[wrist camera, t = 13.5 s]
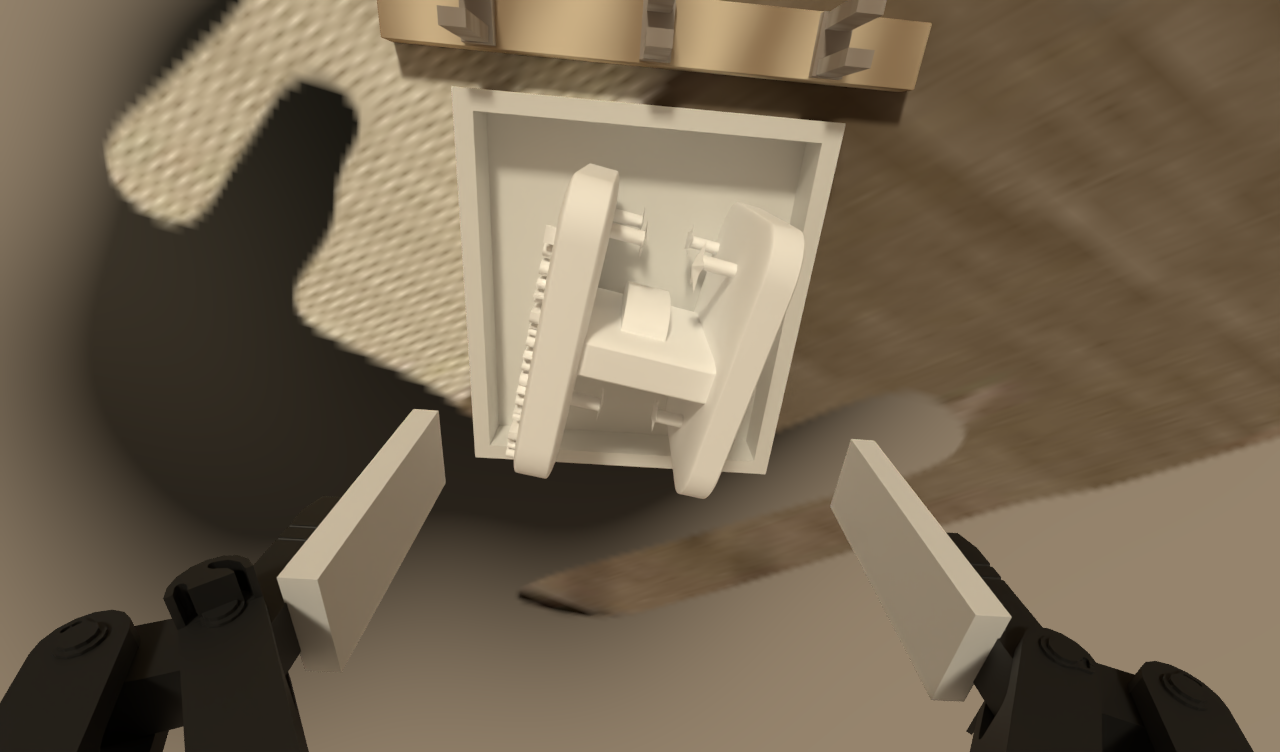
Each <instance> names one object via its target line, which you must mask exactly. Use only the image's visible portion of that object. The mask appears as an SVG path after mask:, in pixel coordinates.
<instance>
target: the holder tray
mask: <svg viewBox="0 0 1280 752" xmlns="http://www.w3.org/2000/svg"><path fill="white" fill-rule="evenodd" d="M451 92H452V108H453V123H454V138H455V153H456V168H457V184H458V199H459V214H460V229H461V244H462V260H463V275H464V290H465V305H466V321H467V336H468V351H469V366H470V381H471V397H472V412H473V427H474V441H475V456H476V457H485V458H501V459H514V458H511V457H506V456H505V454H506V450H507V444H508V432H509V430H510V427H511V425H512V422H513V420H514V419H513V418H512V416H513V411H514V409H515V406H516V405H515V400H516V396H517V393H516V391H517V388H518V383H519V378H520V375H521V372H522V370H521V367H522V363H523V360H524V359H523V358H522V357H523V354H524V351H525V350H526V348H527V346H526V340H527V336H528V329H529V325H530V323H531V322H529V317H530V312H531V310H532V308H533V307H534V305H535V303H536V302H534V297H533V294H534V292H535V291H536V289H537V288H536V282H537V280H538V278H539V277H540V276H541V275H542V274H539V268H540V264H541V261H542V259H543V258H548V259H550V257H546V256H543V255H542V252H543V247H544V244H545V243H543V240H544V234H545V229H546V225H550V226H553V227H557V222H558V218H559V214H560V210H561V206H562V203H563V199H564V196H565V193H566V190H567V188H568V185H569V183H570V180H571V178H572V177H573V175H574V174H575V173H576V172H577V171H579V170H580V169H582V168H583V167H585V166H586V165H588V164H590V163H591V164H595V165H598V166H602V167H605V168H609V169H612V170H616V171H618V172H619V191H618V198H617V204H616V209H619V210H623V211H627V212H630V213H634V214H638V215H641V216H642V215H643V212H644V208H645V214H644V224H643V227H642V229H641V230H642V231H643V230H645V227H646V224H647V221H648V225H647V237H646V243H645V245H644V247H643V250H642V252H641V255H640V257H639V254H640V251H639V248H640V246H639V245H635V244H632V243H628V242H624V241H620V240H617V239H613V238H609V242H608V246H607V250H606V254H605V259H604V263H603V267H602V271H601V276H600V280H599V284H598V288H602V289H606V290H610V291H614V292H618V293H622V294H623V293H624V289H625V286H626V283H627V281H630V282H634V283H638V284H642V285H646V286H650V287H654V288H658V289H661V290H665V291H668V292H669V294H670V300H671V306H673V307H677V308H681V309H685V310H689V311H693V312H694V310H695V307H696V303H697V300H698V297H699V294H700V291H701V288H702V285H703V282H704V279H705V276H706V273H707V271H705V270H702V271H701V272H700V274H699V276H698V279H697V283H696V286H695V290H694V293H693V282H692V283H691V284H690V279H691V267H692V264H693V262H694V260H695V258H696V256H697V254H699V253H700V250H696V249H693V248H689V250H688V254H687V249H686V250H685V245H686V240H687V236H688V232H691V230H692V228H693V226H694V229H693V234H692V235H693V236H696V237H700V238H703V239H707V240H711V241H714V242H717V239H718V236H719V233H720V230H721V227H722V225H723V222H724V220H725V218H726V216H727V214H728V212H729V210H730V209H731V207H732V206H733V205H734V204H735V203H736V202H741V203H744V204H748V205H751V206H755V207H758V208H761V209H763V210H764V211H766V212H768V213H770V214H772V215H774V216H775V217H777V218H779V219H781V220H783V221H784V222H786V223H788V224H790V225H792V226H794V227H795V228H797V229H799V230H800V231H801V232H802V233H803V235H804V240H805V250H804V259H803V264H802V269H801V272H800V276H799V280H798V283H797V286H796V288H795V291H794V294H793V296H792V299H791V301H790V304H789V306H788V309H787V311H786V314H785V316H784V318H783V321H782V323H781V326H780V328H779V331H778V333H777V336H776V338H775V341H774V343H773V346H772V348H771V351H770V353H769V356H768V358H767V361H766V363H765V366H764V368H763V370H762V373H761V375H760V378H759V380H758V383H757V385H756V388H755V390H754V393H753V395H752V398H751V400H750V403H749V405H748V408H747V410H746V413H745V415H744V418H743V420H742V423H741V425H740V427H739V430H738V432H737V435H736V437H735V440H734V442H733V445H732V447H731V450H730V452H729V455H728V457H727V460H726V462H725V465H724V467H723V470H722V472H735V473H736V472H737V473H752V474H766V470H767V466H768V461H769V457H770V452H771V448H772V443H773V439H774V435H775V431H776V426H777V422H778V418H779V413H780V409H781V404H782V400H783V396H784V391H785V387H786V383H787V378H788V374H789V369H790V365H791V361H792V356H793V352H794V348H795V343H796V339H797V335H798V330H799V326H800V321H801V317H802V313H803V308H804V304H805V300H806V295H807V291H808V286H809V282H810V278H811V273H812V269H813V265H814V260H815V256H816V251H817V247H818V243H819V238H820V234H821V230H822V225H823V221H824V217H825V212H826V208H827V203H828V199H829V195H830V190H831V186H832V182H833V177H834V173H835V168H836V164H837V160H838V155H839V151H840V147H841V142H842V138H843V133H844V129H845V125H846V124H845V123H835V122H824V121H814V120H803V119H792V118H782V117H771V116H761V115H750V114H740V113H729V112H719V111H708V110H698V109H687V108H677V107H666V106H656V105H645V104H635V103H624V102H614V101H603V100H592V99H582V98H571V97H561V96H550V95H540V94H529V93H519V92H508V91H498V90H487V89H477V88H466V87H456V86H451ZM613 223H616V224H620V225H623V226H627V227H631V228H634V229H639V228H637V227H633V226H630V225H626V224H622V223H618V222H615V221H613ZM704 255H706V256H710V257H712V254H711V253H708V252H704ZM543 276H546V275H543ZM602 387H603V388H604V397H603V404H602V407H601V410H600V412H599V415H598V417H597V413H598V411H595V410H591V409H586V408H582V407H577V406H573V405H570V408H569V412H568V416H567V420H566V425H565V429H564V433H563V437H562V441H561V445H560V449H559V452H558V455H557V458H556V461H555V462H568V463H584V464H602V465H618V466H634V467H652V468H668V469H673V467H672V459H671V452H670V444H669V436H668V428H667V425H665V424H661V423H656V422H655V423H654V426H653V430H652V420H651V415H652V411H653V406H654V402H655V400H656V405H657V403H658V401H659V404H658V409H659V410H663V411H666V404H667V398H668V396H665V395H660V394H656V393H652V392H647V391H643V390H639V389H634V388H630V387H626V386H621V385H617V384H612V383H608V382H604V381H599V380H595V379H591V378H586V377H582V376H579V375H577V378H576V382H575V386H574V391H573V392H577V393H581V394H586V395H590V396H594V397H599V398H600V397H601V392H602ZM596 419H597V420H596Z"/></svg>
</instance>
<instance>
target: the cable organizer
mask: <svg viewBox="0 0 1280 752" xmlns="http://www.w3.org/2000/svg"><path fill="white" fill-rule="evenodd" d="M618 191H619V172H618V171H616V170H612V169H609V168H605V167H602V166H598V165H595V164H591V163H590V164H588V165H586V166H585V167H583V168H582V169H580V170H579V171H577V172H576V173H575V174H574V175H573V177H572V178H571V180H570V183H569V185H568V188H567V190H566V193H565V196H564V199H563V203H562V206H561V210H560V214H559V218H558V222H557V227H553V226H550V225H546V229H545V234H544V240H543V243H545V244H544V247H543V252H542V255H543V256H546V257H550V259H548V258H543V259H542V261H541V264H540V268H539V274H542V275H541V276H540V277H539V278H538V280H537V282H536V288H537V289H536V291H535V292H534V294H533V297H534V302H536V303H535V305H534V307H533V308H532V310H531V312H530V317H529V322H531V323H530V325H529V329H528V336H527V340H526V346H527V348H526V350H525V351H524V354H523V357H522V358H523V359H524V360H523V363H522V367H521V370H522V372H521V375H520V378H519V383H518V388H517V391H516V393H517V396H516V400H515V405H516V406H515V409H514V411H513V416H512V418H513V419H514V420H513V422H512V425H511V427H510V430H509V432H508V444H507V450H506V454H505V456H506V457H511V458H514V470H515V472H516V473H521V474H526V475H531V476H535V477H540V478H547V477H548V476H549V475H550V473H551V471H552V469H553V466H554V464H555V461H556V458H557V455H558V452H559V449H560V445H561V441H562V437H563V433H564V429H565V425H566V420H567V416H568V412H569V408H570V405H573V406H577V407H582V408H586V409H591V410H595V411H598V413H597V417H598V415H599V412H600V410H601V407H602V404H603V397H604V388H603V387H602V392H601V397H600V398H599V397H594V396H590V395H586V394H581V393H577V392H573V391H574V386H575V382H576V378H577V375H579V376H582V377H586V378H591V379H595V380H599V381H604V382H608V383H612V384H617V385H621V386H626V387H630V388H634V389H639V390H643V391H647V392H652V393H656V394H660V395H665V396H668V398H667V404H666V411H663V410H659V409H658V404H659V401H658V403H657V405H656V400H655V402H654V406H653V411H652V415H651V420H652V430H653V426H654V423H655V422H656V423H661V424H665V425H667V428H668V436H669V444H670V452H671V459H672V467H673V475H674V483H675V489H676V492H677V493H678V494H682V495H686V496H691V497H696V498H701V499H705V498H707V497H708V496H709V495H710V494H711V492H712V491H713V489H714V487H715V486H716V484H717V481H718V479H719V477H720V475H721V472H722V470H723V467H724V465H725V462H726V460H727V457H728V455H729V452H730V450H731V447H732V445H733V442H734V440H735V437H736V435H737V432H738V430H739V427H740V425H741V423H742V420H743V418H744V415H745V413H746V410H747V408H748V405H749V403H750V400H751V398H752V395H753V393H754V390H755V388H756V385H757V383H758V380H759V378H760V375H761V373H762V370H763V368H764V366H765V363H766V361H767V358H768V356H769V353H770V351H771V348H772V346H773V343H774V341H775V338H776V336H777V333H778V331H779V328H780V326H781V323H782V321H783V318H784V316H785V314H786V311H787V309H788V306H789V304H790V301H791V299H792V296H793V294H794V291H795V288H796V286H797V283H798V280H799V276H800V272H801V269H802V264H803V259H804V250H805V240H804V235H803V233H802V232H801V231H800V230H799V229H797V228H795V227H794V226H792V225H790V224H788V223H786V222H784V221H783V220H781V219H779V218H777V217H775V216H774V215H772V214H770V213H768V212H766V211H764V210H763V209H761V208H758V207H755V206H751V205H748V204H744V203H741V202H736V203H735V204H734V205H733V206H732V207H731V209H730V210H729V212H728V214H727V216H726V218H725V220H724V222H723V225H722V227H721V230H720V233H719V236H718V239H717V242H714V241H711V240H707V239H703V238H700V237H696V236H693V235H692V234H693V229H694V226H693V228H692V230H691V232H688V236H687V240H686V245H685V250H686V249H687V254H688V250H689V248H693V249H696V250H700V253H699V254H697V256H696V258H695V260H694V262H693V264H692V267H691V279H690V284H691V283H692V282H693V293H694V290H695V286H696V283H697V279H698V276H699V274H700V272H701V271H702V270H705V271H707V273H706V276H705V279H704V282H703V285H702V288H701V291H700V294H699V297H698V300H697V303H696V307H695V310H694V312H693V311H689V310H685V309H681V308H677V307H673V306H671V300H670V294H669V292H668V291H665V290H661V289H658V288H654V287H650V286H646V285H642V284H638V283H634V282H630V281H627V283H626V286H625V289H624V293H623V294H622V293H618V292H614V291H610V290H606V289H602V288H598V284H599V280H600V276H601V271H602V267H603V263H604V259H605V254H606V250H607V246H608V242H609V238H613V239H617V240H620V241H624V242H628V243H632V244H635V245H639V246H640V248H639V251H640V254H639V257H640V255H641V252H642V250H643V247H644V245H645V243H646V237H647V225H648V221H647V224H646V227H645V230H643V231H642V230H641V229H642V227H643V224H644V214H645V208H644V212H643V215H642V216H641V215H638V214H634V213H630V212H627V211H623V210H619V209H616V204H617V198H618ZM613 221H615V222H618V223H622V224H626V225H630V226H633V227H637V228H639V229H634V228H631V227H627V226H623V225H620V224H616V223H613ZM704 252H708V253H711V254H712V257H710V256H706V255H704ZM543 275H546V276H543ZM596 420H597V419H596Z"/></svg>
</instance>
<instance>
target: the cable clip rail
mask: <svg viewBox="0 0 1280 752" xmlns="http://www.w3.org/2000/svg"><path fill="white" fill-rule="evenodd" d="M886 1H887V0H848V1H846V2H845V3H843V4H841V5H840V6H838V7H837V8H835V9H833V10H832V11H830V12H829V11H824V12H823V11H813V10H804V9H794V8H785V7H776V6H766V5H757V4H747V3H738V2H728V1H719V0H377V5H378V14H379V23H380V32H381V37H382V38H384V39H387V40H389V41H392V42H397V43H407V44H417V45H427V46H437V47H447V48H458V49H468V50H478V51H488V52H498V53H508V54H518V55H529V56H539V57H549V58H559V59H569V60H579V61H589V62H600V63H610V64H620V65H630V66H640V67H650V68H660V69H670V70H681V71H691V72H701V73H711V74H721V75H731V76H741V77H752V78H762V79H772V80H782V81H792V82H802V83H812V84H822V85H833V86H843V87H853V88H863V89H873V90H883V91H893V92H904V91H910V90H914V87H915V83H916V80H917V76H918V72H919V69H920V65H921V61H922V58H923V54H924V50H925V47H926V43H927V39H928V36H929V32H930V28H931V25H932V23H927V22H917V21H908V20H898V19H889V18H879V17H880V16H882V15H883V14H884V9H885V5H886Z"/></svg>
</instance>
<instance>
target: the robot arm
mask: <svg viewBox="0 0 1280 752" xmlns="http://www.w3.org/2000/svg"><path fill="white" fill-rule="evenodd" d="M444 485H445V472H444V462H443V453H442V442H441V432H440V422H439V413H438V411H432V410H417V409H414V410H413V411H412V412H411V413H410V414H409V415H408V417H407V418H406V419H405V420H404V421H403V423H402V424H401V425H400V426H399V428H398V429H397V430H396V431H395V433H394V434H393V435H392V437H390V439H389V440H388V441H387V443H386V444H385V445H384V446H383V447H382V449H381V450H380V451H379V452H378V453H377V455H376V456H375V457H374V458H373V460H372V461H371V462H370V463H369V465H368V466H367V467H366V468H365V469H364V471H363V472H362V473H361V474H360V476H359V477H358V478H357V479H356V481H355V482H354V483H353V484H352V485H351V487H350V488H349V489H348V490H347V492H346V493H345V494H344V495H343V497H328V496H323V497H322V498H320V499H318V500H317V501H315V502H314V503H312V504H311V505H309V506H308V507H306V508H304V509H303V510H302V511H301V512H300V514H299V515H298V516H297V517H296V518H295V519H294V520H293V521H292V523H291V524H290V527H289V528H286V529H285V531H284V532H283V533H282V534H281V535H280V536H279V539H278V540H276V541H275V542H274V543H273V544H272V545H271V546H270V547H269V548H268V550H267V551H266V552H265V553H264V554H263V555H262V556H261V557H260V558H259V560H258V561H257V562H256V563H255V564H254V565H252V563H251V562H250V560H249V559H247V558H244V557H241V556H238V555H235V556H221V557H217V558H213V559H209V560H206V561H204V562H201V563H199V564H197V565H195V566H193V567H190V568H189V569H188V570H186V571H185V572H183V573H182V574H181V575H179V576H177V577H176V578H175V579H174V581H173V582H172V583H171V584H170V585H169V586H168V587H167V589H166V592H165V595H164V598H163V599H164V601H165V604H166V606H167V608H168V610H169V612H170V614H171V617H172V619H168V620H164V621H158V622H153V623H148V624H143V625H138V626H134V624H133V622H132V620H131V619H130V617H129V616H128V615H127V614H126V613H125V612H121V611H116V610H108V611H101V612H94V613H92V614H88V615H86V616H83V617H80V618H77V619H75V620H73V621H71V622H69V623H67V624H65V625H63V626H61V627H59V628H57V629H56V630H54V631H53V632H52V633H50V634H49V635H48V636H46V637H45V638H44V639H42V640H41V641H40V642H39V643H38V644H37V645H36V647H35V648H34V649H33V650H32V651H31V652H30V654H29V655H28V657H27V658H26V660H25V662H24V664H23V665H22V667H21V669H20V670H19V672H18V674H17V675H16V677H15V679H14V681H13V682H12V684H11V686H10V687H9V689H8V691H7V693H6V694H5V696H4V697H3V699H2V701H1V703H0V752H163V749H164V745H165V742H166V738H167V735H168V732H169V730H171V729H175V728H178V727H182V726H184V741H185V752H309V751H308V747H307V744H306V739H305V735H304V731H303V727H302V723H301V719H300V715H299V711H298V707H297V703H296V699H295V695H294V692H293V687H292V683H291V679H290V676H289V673H288V670H289V669H290V668H291V666H292V665H293V663H294V661H295V660H296V658H297V657H298V655H299V654H300V656H301V659H302V662H303V665H304V669H305V671H318V672H340V673H341V672H342V671H343V669H344V667H345V665H346V663H347V661H348V660H349V658H350V656H351V654H352V652H353V651H354V649H355V647H356V645H357V643H358V641H359V640H360V638H361V636H362V634H363V632H364V630H365V629H366V627H367V625H368V623H369V621H370V620H371V618H372V616H373V614H374V612H375V610H376V609H377V607H378V605H379V603H380V601H381V600H382V598H383V596H384V594H385V592H386V590H387V588H388V587H389V585H390V583H391V581H392V579H393V577H394V576H395V574H396V572H397V570H398V569H399V567H400V565H401V563H402V561H403V559H404V558H405V556H406V554H407V552H408V550H409V548H410V547H411V545H412V543H413V541H414V539H415V538H416V536H417V534H418V532H419V530H420V528H421V527H422V525H423V523H424V521H425V519H426V517H427V515H428V514H429V512H430V510H431V508H432V507H433V505H434V503H435V501H436V499H437V497H438V496H439V494H440V492H441V490H442V488H443V486H444ZM830 507H831V509H832V511H833V513H834V515H835V517H836V519H837V521H838V522H839V524H840V526H841V528H842V530H843V532H844V534H845V536H846V538H847V540H848V542H849V543H850V545H851V547H852V549H853V551H854V553H855V555H856V557H857V559H858V561H859V563H860V565H861V566H862V568H863V570H864V572H865V574H866V576H867V578H868V580H869V582H870V584H871V586H872V587H873V589H874V591H875V593H876V595H877V597H878V599H879V601H880V603H881V605H882V607H883V608H884V610H885V612H886V614H887V616H888V618H889V620H890V622H891V624H892V626H893V627H894V630H895V631H896V633H897V635H898V637H899V639H900V641H901V643H902V645H903V647H904V649H905V651H906V652H907V654H908V656H909V658H910V660H911V662H912V664H913V666H914V668H915V670H916V672H917V673H918V675H919V677H920V679H921V681H922V683H923V685H924V687H925V689H926V691H927V693H928V695H929V697H930V698H931V700H943V701H964V700H965V699H966V697H967V695H968V693H969V692H970V690H971V688H972V686H973V685H975V686H976V688H977V689H978V691H979V692H980V694H981V696H982V697H983V699H984V702H983V704H982V706H981V707H980V709H979V711H978V713H977V714H976V716H975V717H974V719H973V721H972V723H971V724H970V726H969V728H968V730H967V732H968V733H970V734H973V733H974V735H973V739H972V744H971V749H970V752H1253V750H1252V748H1251V746H1250V745H1249V743H1248V741H1247V740H1246V738H1245V736H1244V734H1243V733H1242V731H1241V729H1240V728H1239V726H1238V724H1237V723H1236V721H1235V719H1234V717H1233V716H1232V714H1231V712H1230V710H1229V709H1228V707H1227V706H1226V705H1225V704H1224V702H1223V701H1222V700H1221V699H1220V697H1219V696H1218V695H1217V694H1216V693H1214V692H1213V691H1212V690H1211V689H1210V688H1209V687H1208V686H1206V685H1205V684H1204V683H1202V682H1201V681H1200V680H1198V679H1197V678H1195V677H1193V676H1192V675H1190V674H1188V673H1187V672H1185V671H1183V670H1181V669H1178V668H1176V667H1174V666H1172V665H1169V664H1165V663H1161V662H1157V661H1152V662H1145V663H1144V665H1143V666H1142V667H1141V668H1140V669H1139V670H1138V672H1137V673H1136V674H1135V675H1134V674H1130V673H1127V672H1124V671H1121V670H1118V669H1115V668H1111V667H1108V666H1105V665H1102V664H1098V663H1096V662H1095V661H1094V659H1093V658H1092V657H1091V656H1090V654H1089V653H1088V652H1087V651H1086V650H1084V649H1083V648H1082V647H1081V646H1080V645H1079V644H1077V643H1076V642H1075V641H1073V640H1071V639H1070V638H1068V637H1066V636H1064V635H1063V634H1061V633H1058V632H1056V631H1053V630H1051V629H1048V628H1043V627H1042V626H1041V625H1040V624H1039V623H1038V621H1037V620H1036V619H1035V618H1034V617H1033V615H1032V614H1031V613H1030V612H1029V610H1028V609H1027V608H1026V607H1025V606H1024V605H1023V603H1022V602H1021V601H1020V600H1019V598H1018V597H1017V596H1016V595H1015V594H1014V592H1013V591H1012V590H1011V589H1010V587H1009V586H1008V585H1007V584H1006V583H1005V581H1003V580H1001V577H1000V576H999V574H998V573H997V572H996V571H995V569H994V568H993V567H990V563H989V562H988V561H987V560H986V558H985V557H984V556H983V555H982V554H981V552H980V551H979V550H978V549H977V548H976V547H975V546H974V545H972V544H971V543H970V542H968V541H967V540H966V539H965V538H963V537H962V536H960V535H959V534H958V533H946V532H945V531H944V530H943V528H942V527H941V526H940V524H939V523H938V522H937V520H936V519H935V518H934V517H933V515H932V514H931V513H930V511H929V510H928V509H927V508H926V506H925V505H924V504H923V502H922V501H921V500H920V499H919V497H918V496H917V495H916V493H915V492H914V491H913V490H912V488H911V487H910V486H909V485H908V483H907V482H906V481H905V479H904V478H903V477H902V476H901V474H900V473H899V472H898V471H897V469H896V468H895V467H894V465H893V464H892V463H891V462H890V460H889V459H888V458H887V456H886V455H885V454H884V452H883V451H882V450H881V449H880V447H879V446H878V445H877V443H876V442H875V441H873V440H859V439H851V441H850V444H849V447H848V450H847V454H846V457H845V461H844V463H843V467H842V470H841V473H840V476H839V480H838V483H837V486H836V489H835V493H834V496H833V499H832V502H831V506H830Z"/></svg>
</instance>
